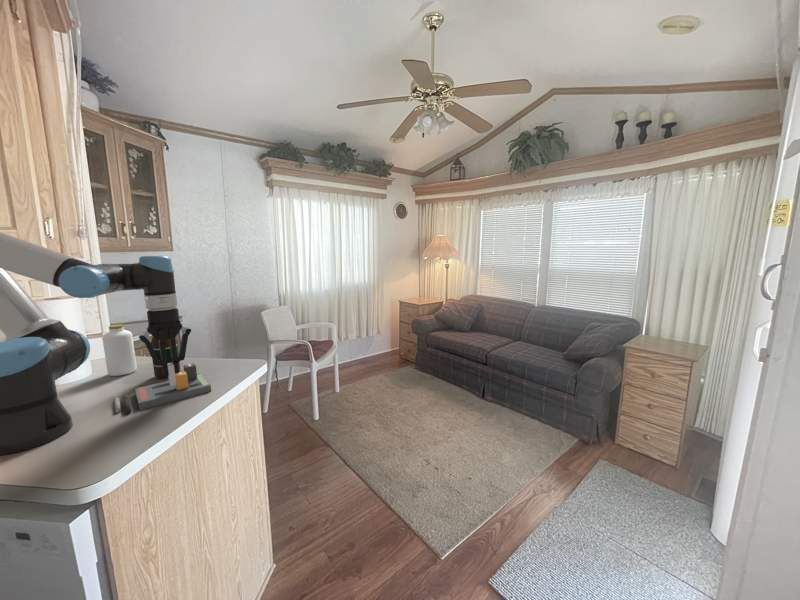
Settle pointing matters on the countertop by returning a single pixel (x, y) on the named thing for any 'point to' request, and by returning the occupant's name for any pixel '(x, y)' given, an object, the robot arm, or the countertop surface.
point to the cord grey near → (117, 405)
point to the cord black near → (126, 405)
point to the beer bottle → (158, 368)
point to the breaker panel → (169, 392)
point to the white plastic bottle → (119, 351)
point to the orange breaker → (181, 380)
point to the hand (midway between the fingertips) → (172, 384)
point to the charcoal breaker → (190, 371)
